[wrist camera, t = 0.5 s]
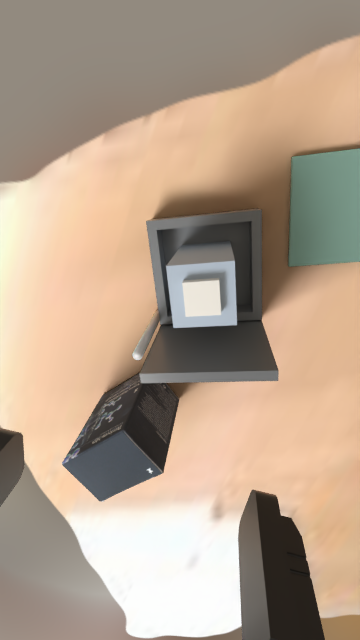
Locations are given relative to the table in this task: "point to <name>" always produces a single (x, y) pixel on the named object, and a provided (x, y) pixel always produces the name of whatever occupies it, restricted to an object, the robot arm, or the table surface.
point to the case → (213, 341)
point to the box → (124, 438)
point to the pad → (325, 208)
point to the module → (202, 285)
